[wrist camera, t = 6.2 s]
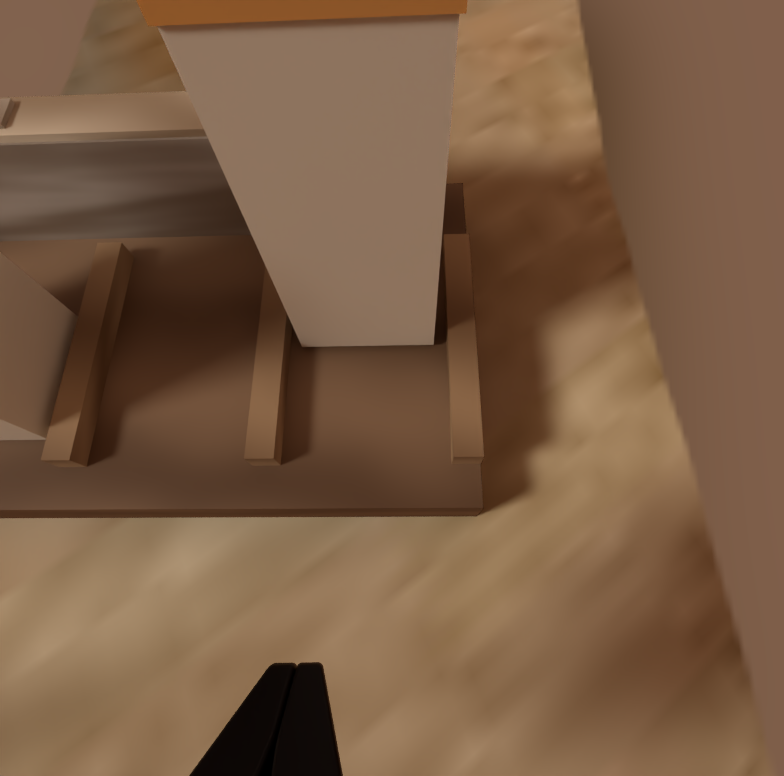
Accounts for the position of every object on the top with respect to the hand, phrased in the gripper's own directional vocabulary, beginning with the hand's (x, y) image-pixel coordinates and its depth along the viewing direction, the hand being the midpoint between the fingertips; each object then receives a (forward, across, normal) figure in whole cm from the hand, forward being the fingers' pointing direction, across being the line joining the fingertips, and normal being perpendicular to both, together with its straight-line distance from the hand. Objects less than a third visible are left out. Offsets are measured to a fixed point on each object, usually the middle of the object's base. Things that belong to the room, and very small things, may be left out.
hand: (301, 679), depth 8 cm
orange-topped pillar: (+15, 0, -3) cm, 15 cm away
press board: (+15, +7, -1) cm, 16 cm away
